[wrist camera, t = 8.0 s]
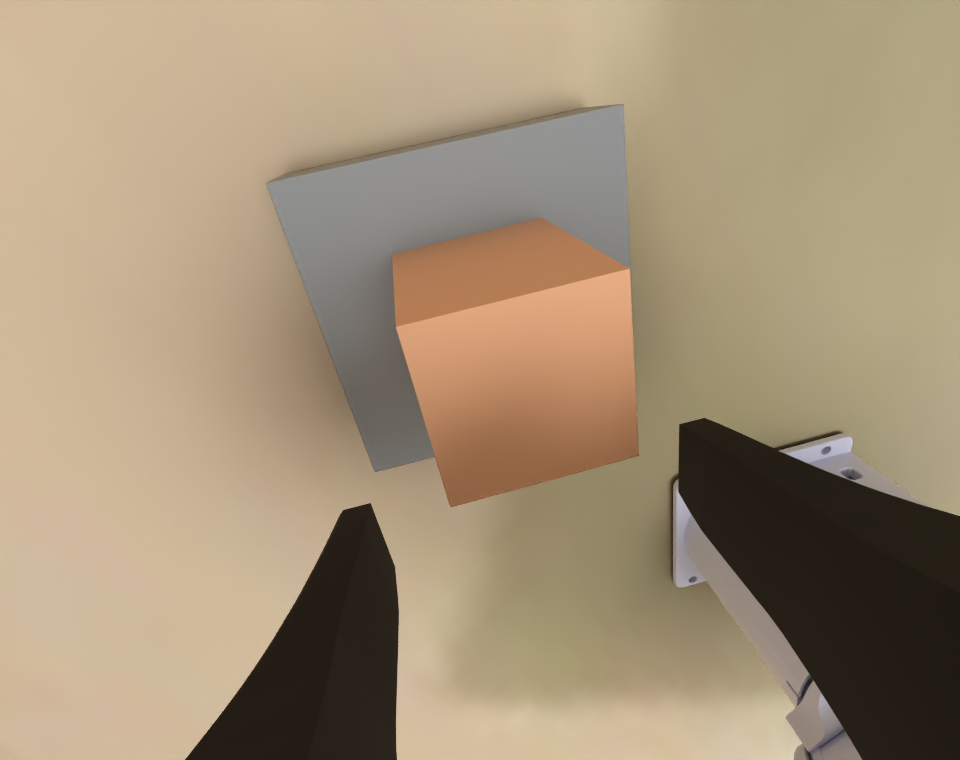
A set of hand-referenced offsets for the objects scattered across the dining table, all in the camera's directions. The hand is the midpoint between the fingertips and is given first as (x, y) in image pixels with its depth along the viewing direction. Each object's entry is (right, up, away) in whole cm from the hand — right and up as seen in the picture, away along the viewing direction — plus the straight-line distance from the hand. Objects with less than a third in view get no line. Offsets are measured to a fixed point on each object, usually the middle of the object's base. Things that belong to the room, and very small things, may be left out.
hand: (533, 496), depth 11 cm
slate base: (-2, +6, +7) cm, 10 cm away
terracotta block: (-1, +5, +4) cm, 7 cm away
